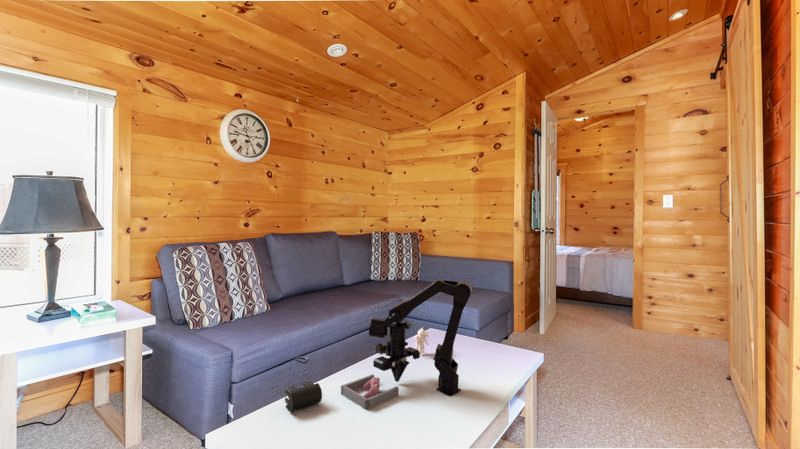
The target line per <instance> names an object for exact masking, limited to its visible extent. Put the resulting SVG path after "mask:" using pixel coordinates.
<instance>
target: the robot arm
mask: <svg viewBox="0 0 800 449" xmlns="http://www.w3.org/2000/svg"><path fill="white" fill-rule="evenodd" d="M472 288H473V287H472V284H471V283H470V282H468V281H466V280H460V281H455V280H445V279H442V278H438V279H436V280H435V281H433V283H431V284H429V285H427V287H425V288H424V289H422V290H421V291H419V292H418V293H416V294H414V296H412V297H410V298H408V299H405V300H403V301H401V302H398V303H396V304H394V305H393V306H392V308H390V309H389V311H388V316H387V317H386V318H385V319H381V318H377V317H373V318H371V319H370V325H369V329H368V336H369V337H370V338H377V339H378V338H379V339H386V338H387V337H388V336H389V340H388V341H386V343H384V344H383V343H377V344H375V353H376V354H379V355H380V356H379V357H375V358H374V359H373V362H372V364H373V365H372V367H374V368H376V369H378V370H381V371H383V372H385V371H388V370H391V373H392V376H393V379H394V381H395V382H400V380H401V378H402V375H403V374H404V372H405V371H406V369H407V366H408V365H409V364H410V361H408V360H407V358H409V357H412V359H413V360H417V359H420V357H421V356H420V352H419V349H416V348H414V347H412V346H409V345H408V344H409V343H408V342H407V341H406V337H407V336H406V332H407V331H406V330H407V329H408V330H409V329H410V328H411V327H412V324H411V323H410V322H409V321H408V320H405V322H404V321H403V320H404V319H406V317H408V315H410V313H412V311H413V310H414V309H416V308H418V307H419V306H420V305H422V304H423V303H424V302H426V301H428V300H429V299H431V298H432V297H434V296H435V295H437V294H438V293H442V294H446V295H448V296H451V297H453V298H452V299H453V301H452V310H451V313H450V317H449V320H448V324H447V328H446V331H445V336H444V339H443V341H442V344H440V343H438V344H437V345H436V348H435V354H434V357H433V358H432V360H433V361H434V362H433V364H434V368H435V369H436V370H437V371H438V373H439V375H438V382H437V383H438V385H437V386H438V387H436V389H435V391H437V392H440V393H441V394H443V395H446V396H448V397H452V396H454V395H456V394H457V393H459V392H461V391H462V389H461V388H460V387H459V378H460V377H459V374H458V373H457V372H458V367H459V363H458V362H457V361H456V360H455V359H454V358H453V356H454V343H455V340H456V337H457V333H458V330H459V325H460V322H461V318H462V315H463V312H464V309H465V307H466V305H467V304H468V301H469V299H470V297H471V294H472V290H473V289H472ZM402 321H403V322H402ZM406 346H408V347H406ZM383 355H385V356H383ZM386 356H387V357H388V358H387V357H386Z"/></svg>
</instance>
